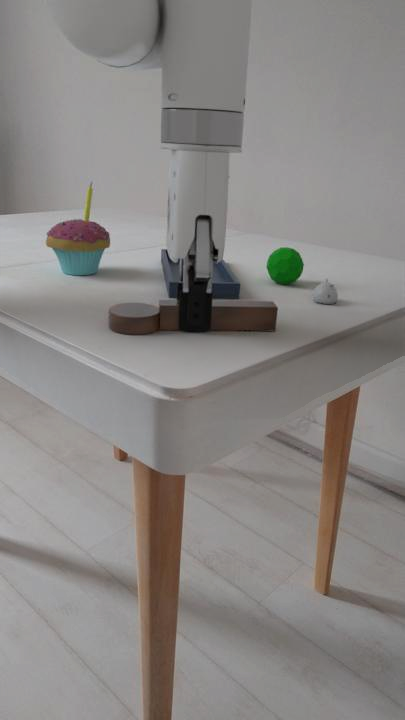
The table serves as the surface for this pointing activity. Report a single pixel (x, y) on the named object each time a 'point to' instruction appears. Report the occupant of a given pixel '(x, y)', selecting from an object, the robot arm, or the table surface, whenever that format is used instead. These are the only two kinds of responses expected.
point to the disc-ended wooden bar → (167, 316)
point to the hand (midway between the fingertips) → (193, 323)
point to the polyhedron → (285, 265)
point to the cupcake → (79, 243)
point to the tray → (221, 278)
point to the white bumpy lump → (325, 293)
